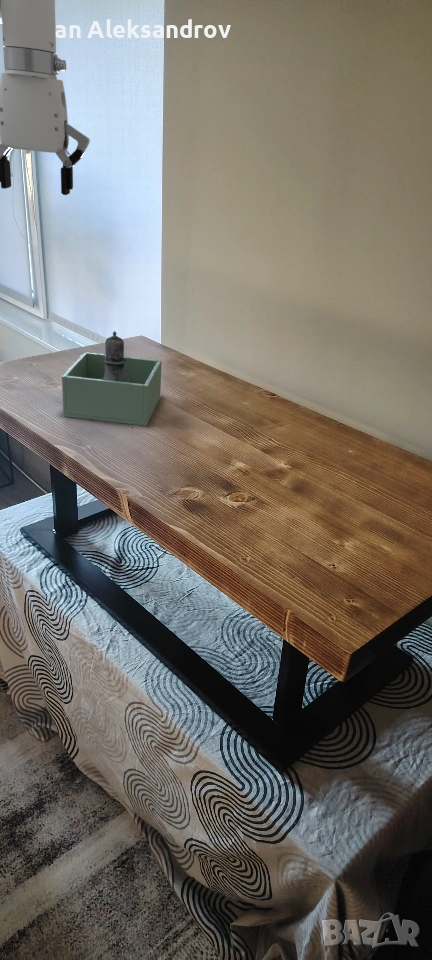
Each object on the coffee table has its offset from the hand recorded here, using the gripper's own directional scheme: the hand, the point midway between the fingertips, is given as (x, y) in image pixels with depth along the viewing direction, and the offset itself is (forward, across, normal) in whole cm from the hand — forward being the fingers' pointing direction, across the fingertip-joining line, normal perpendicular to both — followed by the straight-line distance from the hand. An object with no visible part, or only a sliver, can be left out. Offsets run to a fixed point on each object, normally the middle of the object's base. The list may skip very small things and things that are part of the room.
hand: (36, 190), depth 102 cm
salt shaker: (+29, -16, +16) cm, 37 cm away
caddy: (+30, -16, +16) cm, 37 cm away
